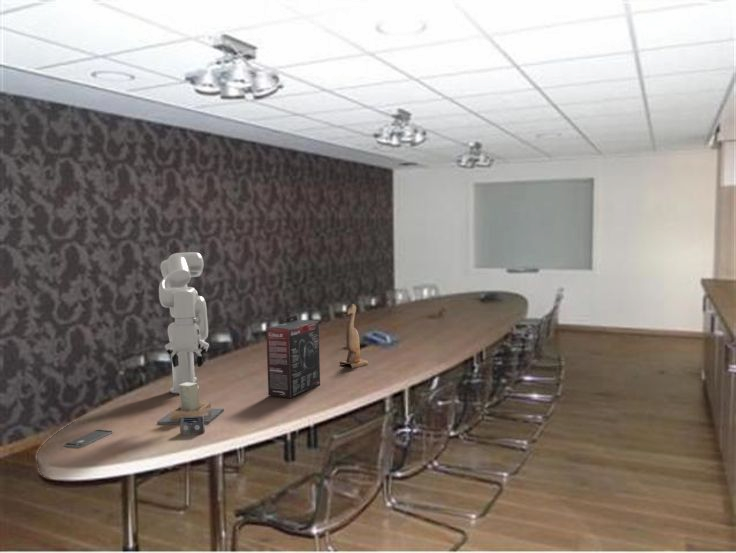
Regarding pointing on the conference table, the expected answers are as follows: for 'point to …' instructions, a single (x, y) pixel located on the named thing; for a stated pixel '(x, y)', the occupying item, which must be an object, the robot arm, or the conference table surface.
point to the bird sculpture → (353, 342)
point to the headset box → (293, 357)
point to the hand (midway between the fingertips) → (188, 366)
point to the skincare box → (189, 396)
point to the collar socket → (191, 414)
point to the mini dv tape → (192, 425)
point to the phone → (88, 438)
